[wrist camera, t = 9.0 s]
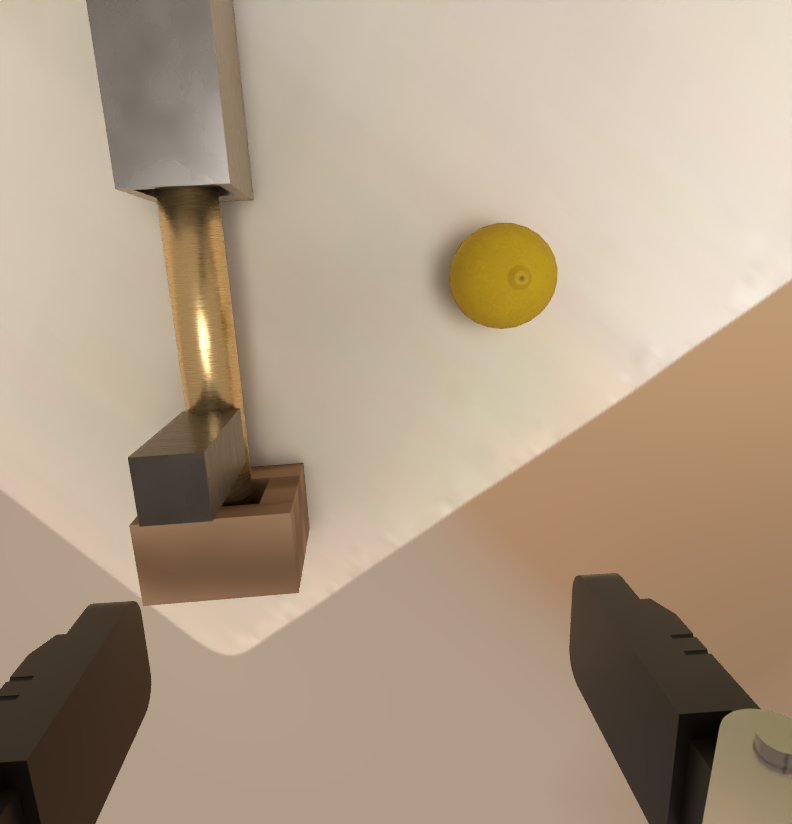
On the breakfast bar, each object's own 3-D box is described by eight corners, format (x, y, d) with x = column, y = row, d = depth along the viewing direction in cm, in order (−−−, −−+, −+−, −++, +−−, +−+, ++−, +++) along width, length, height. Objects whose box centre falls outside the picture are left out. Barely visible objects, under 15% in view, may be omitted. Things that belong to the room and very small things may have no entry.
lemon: (423, 290, 36) (441, 296, 28) (474, 209, 35) (507, 192, 27) (497, 339, 37) (535, 357, 29) (548, 261, 36) (601, 259, 28)
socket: (175, 472, 38) (129, 525, 30) (303, 463, 38) (290, 513, 30) (185, 538, 39) (143, 605, 31) (309, 528, 39) (298, 592, 31)
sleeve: (124, -61, 31) (63, -149, 24) (226, -64, 31) (192, -151, 25) (161, 204, 34) (115, 188, 27) (253, 199, 34) (230, 183, 28)
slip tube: (156, 137, 31) (60, 72, 21) (219, 134, 31) (154, 69, 21) (210, 531, 36) (154, 633, 26) (264, 527, 36) (229, 627, 26)
